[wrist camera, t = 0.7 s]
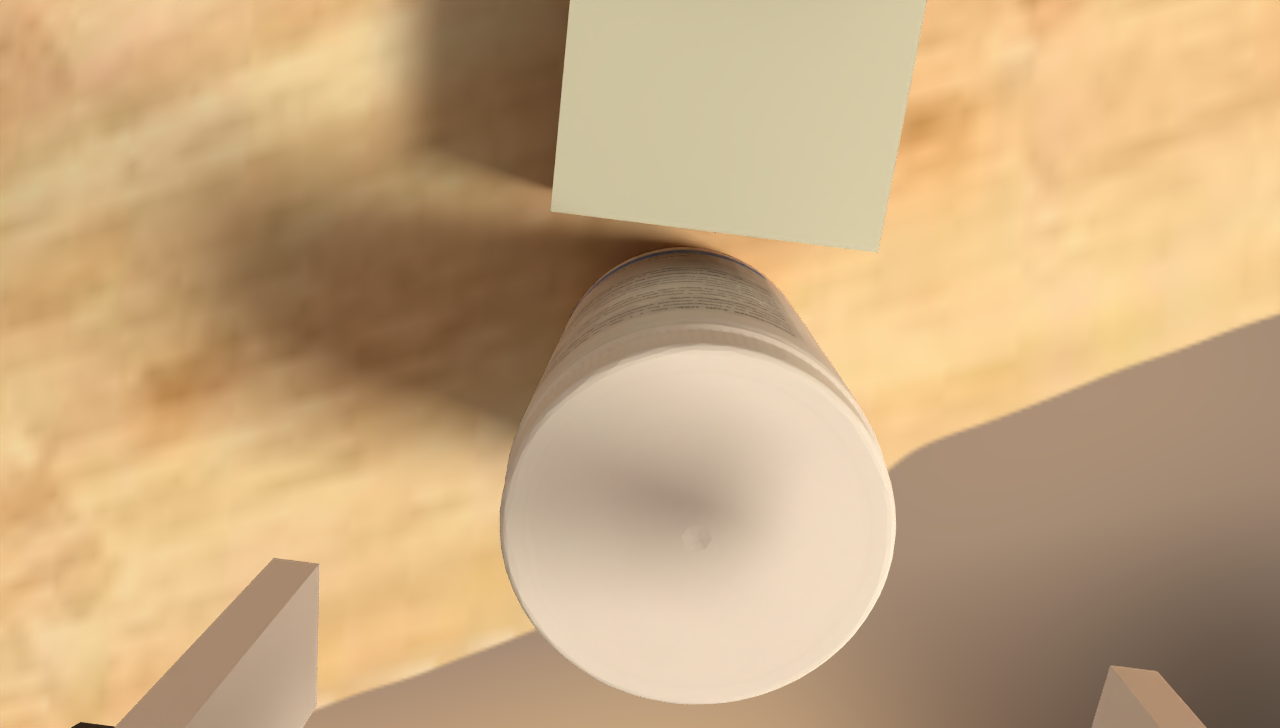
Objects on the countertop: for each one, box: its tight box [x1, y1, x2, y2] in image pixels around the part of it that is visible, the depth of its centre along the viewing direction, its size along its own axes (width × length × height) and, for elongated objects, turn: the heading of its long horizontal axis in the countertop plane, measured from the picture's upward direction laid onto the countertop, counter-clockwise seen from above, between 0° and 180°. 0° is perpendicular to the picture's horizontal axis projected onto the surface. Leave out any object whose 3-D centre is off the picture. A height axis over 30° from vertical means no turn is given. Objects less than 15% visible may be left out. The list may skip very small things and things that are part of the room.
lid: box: [551, 0, 927, 253], centre depth 24 cm, size 10×12×3 cm
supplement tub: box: [500, 247, 896, 704], centre depth 27 cm, size 10×10×15 cm
